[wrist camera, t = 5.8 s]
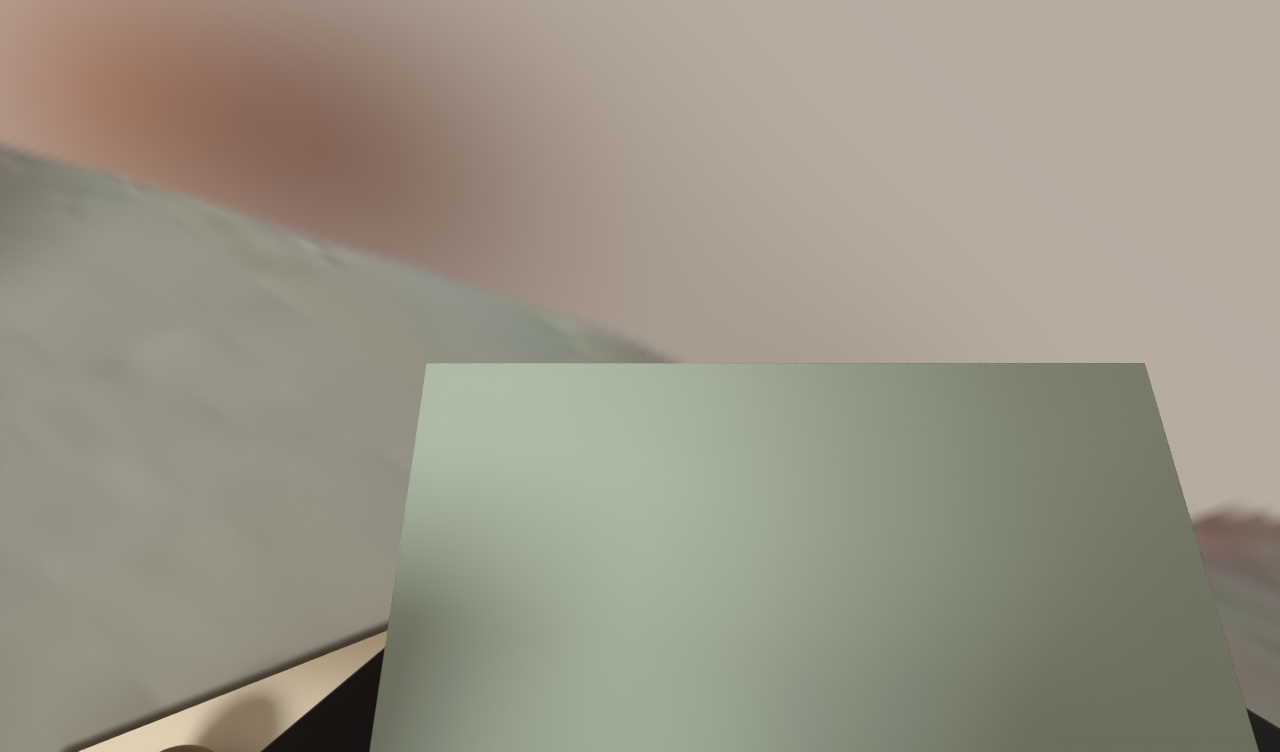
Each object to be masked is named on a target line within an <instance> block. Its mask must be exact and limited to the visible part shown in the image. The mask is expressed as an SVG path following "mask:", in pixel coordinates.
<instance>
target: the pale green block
mask: <svg viewBox="0 0 1280 752" xmlns="http://www.w3.org/2000/svg"><path fill="white" fill-rule="evenodd" d="M370 752H1259V751H1258V747H1257V744H1256V741H1255V737H1254V734H1253V730H1252V727H1251V724H1250V720H1249V717H1248V713H1247V710H1246V707H1245V703H1244V700H1243V696H1242V693H1241V689H1240V686H1239V683H1238V679H1237V676H1236V672H1235V669H1234V666H1233V662H1232V659H1231V655H1230V652H1229V649H1228V645H1227V642H1226V638H1225V635H1224V632H1223V628H1222V625H1221V621H1220V618H1219V615H1218V611H1217V608H1216V604H1215V601H1214V598H1213V594H1212V591H1211V587H1210V584H1209V581H1208V577H1207V574H1206V570H1205V567H1204V564H1203V560H1202V557H1201V553H1200V550H1199V547H1198V543H1197V540H1196V536H1195V533H1194V530H1193V526H1192V523H1191V519H1190V516H1189V513H1188V509H1187V506H1186V502H1185V499H1184V496H1183V492H1182V489H1181V486H1180V482H1179V479H1178V475H1177V472H1176V468H1175V465H1174V462H1173V459H1172V455H1171V451H1170V448H1169V445H1168V441H1167V438H1166V434H1165V431H1164V428H1163V424H1162V421H1161V418H1160V414H1159V411H1158V407H1157V404H1156V401H1155V397H1154V394H1153V390H1152V387H1151V384H1150V380H1149V377H1148V373H1147V370H1146V367H1145V364H1144V363H1134V364H1133V363H1095V364H1094V363H1084V364H1083V363H1061V364H1060V363H1059V364H1058V363H1054V364H1053V363H1029V364H1028V363H1001V364H1000V363H988V364H987V363H984V364H983V363H977V364H976V363H967V364H965V363H962V364H961V363H956V364H955V363H954V364H953V363H951V364H950V363H949V364H948V363H940V364H939V363H935V364H934V363H929V364H926V363H923V364H922V363H905V364H904V363H903V364H902V363H900V364H899V363H896V364H895V363H885V364H884V363H879V364H877V363H875V364H874V363H871V364H870V363H863V364H862V363H861V364H859V363H857V364H856V363H854V364H853V363H851V364H849V363H848V364H847V363H845V364H844V363H842V364H841V363H838V364H836V363H835V364H834V363H833V364H831V363H830V364H828V363H824V364H823V363H822V364H819V363H817V364H814V363H813V364H812V363H811V364H810V363H806V364H804V363H803V364H801V363H800V364H799V363H798V364H797V363H795V364H794V363H793V364H792V363H791V364H789V363H787V364H785V363H784V364H783V363H780V364H779V363H778V364H777V363H775V364H772V363H768V364H765V363H764V364H762V363H761V364H760V363H757V364H756V363H754V364H753V363H752V364H749V363H748V364H747V363H746V364H745V363H743V364H741V363H739V364H736V363H735V364H733V363H732V364H731V363H730V364H728V363H727V364H726V363H723V364H427V366H426V372H425V379H424V386H423V393H422V400H421V406H420V413H419V420H418V427H417V433H416V440H415V447H414V454H413V460H412V467H411V474H410V481H409V488H408V494H407V501H406V508H405V515H404V521H403V528H402V535H401V542H400V549H399V555H398V562H397V569H396V576H395V582H394V589H393V596H392V603H391V609H390V616H389V623H388V630H387V637H386V643H385V650H384V657H383V664H382V670H381V677H380V684H379V691H378V697H377V704H376V711H375V718H374V725H373V731H372V738H371V745H370Z"/></svg>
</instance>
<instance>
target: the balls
mask: <svg viewBox="0 0 1280 752" xmlns="http://www.w3.org/2000/svg"><path fill="white" fill-rule="evenodd" d="M160 752H213V751H212V750H210V749H208V748H206V747H202V746H198V745H179V746H174V747H170V748H167V749H164V750H162V751H160Z"/></svg>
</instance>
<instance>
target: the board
mask: <svg viewBox="0 0 1280 752" xmlns="http://www.w3.org/2000/svg"><path fill="white" fill-rule="evenodd" d="M386 637H387V631H385V632H382V633H380V634H377V635H375V636H372V637H370V638H367V639H365V640H362V641H359V642H357V643H354V644H352V645H349V646H347V647H344V648H342V649H339V650H336V651H334V652H331V653H329V654H326V655H324V656H321V657H319V658H316V659H314V660H311V661H308V662H306V663H303V664H301V665H298V666H296V667H293V668H291V669H288V670H285V671H283V672H280V673H278V674H275V675H273V676H270V677H268V678H265V679H262V680H260V681H257V682H255V683H252V684H250V685H247V686H245V687H242V688H239V689H237V690H234V691H232V692H229V693H227V694H224V695H222V696H219V697H217V698H214V699H211V700H209V701H206V702H204V703H201V704H199V705H196V706H194V707H191V708H188V709H186V710H183V711H181V712H178V713H176V714H173V715H171V716H168V717H165V718H163V719H160V720H158V721H155V722H153V723H150V724H148V725H145V726H142V727H140V728H137V729H135V730H132V731H130V732H127V733H125V734H122V735H120V736H117V737H114V738H112V739H109V740H107V741H104V742H102V743H99V744H97V745H94V746H91V747H89V748H86V749H84V750H81V751H79V752H160V751H162V750H164V749H167V748H170V747H174V746H179V745H198V746H202V747H206V748H208V749H210V750H212V751H213V752H260V751H262V750H263V749H264V748H265V747H266V746H267V745H269V744H270V743H271V742H272V741H273V740H275V739H276V738H277V737H278V736H279V735H281V734H282V733H283V732H284V731H285V730H287V729H288V728H289V727H290V726H291V725H292V724H294V723H295V722H296V721H297V720H298V719H300V718H301V717H302V716H303V715H304V714H306V713H307V712H308V711H309V710H310V709H312V708H313V707H314V706H315V705H316V704H317V703H319V702H320V701H321V700H322V699H323V698H325V697H326V696H327V695H328V694H329V693H331V692H332V691H333V690H334V689H335V688H337V687H338V686H339V685H340V684H341V683H342V682H344V681H345V680H346V679H347V678H348V677H350V676H351V675H352V674H353V673H354V672H356V671H357V670H358V669H359V668H360V667H362V666H363V665H364V664H365V663H366V662H367V661H369V660H370V659H371V658H372V657H373V656H375V655H376V654H377V653H378V652H379V651H381V650H382V649H383V648H384V647H385V643H386Z"/></svg>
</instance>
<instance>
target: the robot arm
mask: <svg viewBox="0 0 1280 752" xmlns="http://www.w3.org/2000/svg"><path fill="white" fill-rule="evenodd" d="M384 650H385V647H384V648H383V649H382V650H381V651H379V652H378V653H377V654H376V655H375V656H373V657H372V658H371V659H370V660H369V661H367V662H366V663H365V664H364V665H363V666H362V667H360V668H359V669H358V670H357V671H356V672H354V673H353V674H352V675H351V676H350V677H348V678H347V679H346V680H345V681H344V682H342V683H341V684H340V685H339V686H338V687H337V688H335V689H334V690H333V691H332V692H331V693H329V694H328V695H327V696H326V697H325V698H323V699H322V700H321V701H320V702H319V703H317V704H316V705H315V706H314V707H313V708H312V709H310V710H309V711H308V712H307V713H306V714H304V715H303V716H302V717H301V718H300V719H298V720H297V721H296V722H295V723H294V724H292V725H291V726H290V727H289V728H288V729H287V730H285V731H284V732H283V733H282V734H281V735H279V736H278V737H277V738H276V739H275V740H273V741H272V742H271V743H270V744H269V745H267V746H266V747H265V748H264V749H263V750H262V751H260V752H370V745H371V738H372V731H373V725H374V718H375V711H376V704H377V697H378V691H379V684H380V677H381V670H382V664H383V657H384ZM1246 710H1247V713H1248V717H1249V720H1250V724H1251V727H1252V730H1253V734H1254V737H1255V741H1256V744H1257V747H1258V751H1259V752H1280V728H1278V727H1277V726H1275V725H1273V724H1272V723H1270V722H1268V721H1267V720H1265V719H1263V718H1262V717H1260V716H1258V715H1257V714H1255V713H1253V712H1252V711H1250V710H1248V709H1247V708H1246Z"/></svg>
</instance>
